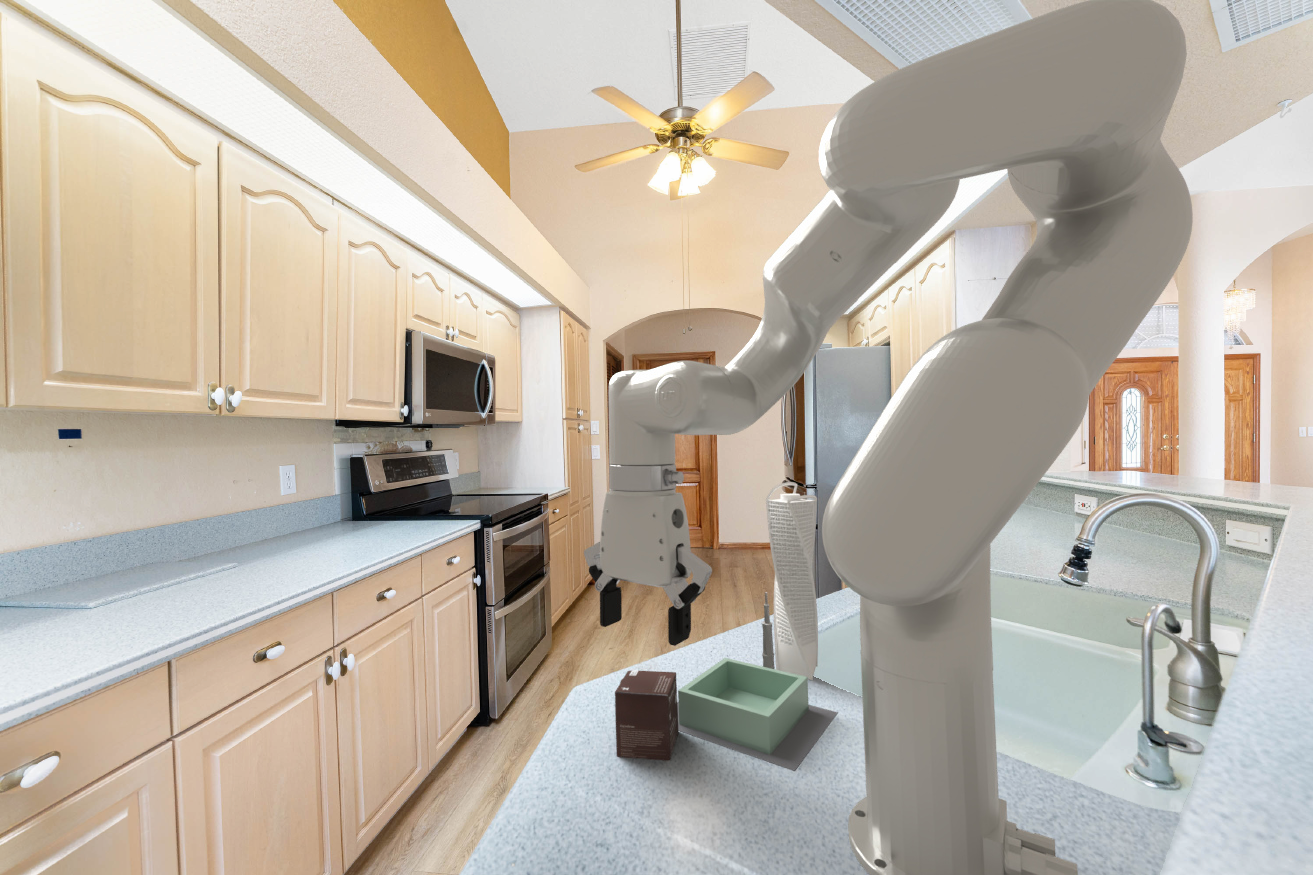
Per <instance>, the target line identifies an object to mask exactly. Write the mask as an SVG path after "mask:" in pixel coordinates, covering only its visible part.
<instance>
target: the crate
mask: <svg viewBox="0 0 1313 875" xmlns="http://www.w3.org/2000/svg"><path fill="white" fill-rule="evenodd" d="M808 680H809V679H808V678H807V677H805V676H801V675H797V674H792V673H788V672H784V671H780V670H776V668H775V669H771V668H767V667H763V665H757V664H753V663H751V662H750V663H748V662H745V661H740V660H736V659H731V658H727V657H724V658H722V659H721V660H720V661H719V662H717V663H715V664H714V665H712V666H711V667H710V668H708V669H707V670H706V671H703V672H702V673H701V674H699V675H698V676H697V677H695V678H694V679H692V680H691V681H690V682H688V683H686V684H685V685H684V686H682V687H681V688H679V689H677V702H678V703H679V724H680V725H683V726H686V727H689V728H692V729H695V730H698V731H701V732H704V733H707V734H710V735H712V736H715V737H718V738H721V739H724V740H727V741H730V742H733V743H736V744H739V745H742V746H745V747H748V748H751V749H754V750H757V751H760V752H763V753H766V754H769V755H770V754H771V753H772V752H773V751H774V750H775V748H776V747H777V746H778V745H779V744H780V743H781V741H782V740H783V739H784V738H785V737H786V736H787V734H788V733H789V732H790V731H791V730H792V729H793V727H794V726H795V725H796V724H797V723H798V722H799V720H800V719H801V718H802V717H803V716H804V714H805V713H806V712H807V711H808V710H809V705H810V704H809V682H808Z"/></svg>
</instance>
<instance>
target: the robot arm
mask: <svg viewBox="0 0 1313 875" xmlns="http://www.w3.org/2000/svg"><path fill="white" fill-rule="evenodd" d="M1187 55H1188V53H1187V40H1186V34H1185V32H1184V30H1183V27H1182V25H1181V22H1180V20H1179V19H1178V18H1177V17H1176V16H1175V15H1174V14H1173V13H1172V12H1171V11H1170V10H1169V9H1168V8H1167V7H1166V6H1164V5H1163V4H1161V3H1158V2H1156V1H1154V0H1086V1H1085V0H1084V1H1081V2H1077V3H1074V4H1071V5H1068V6H1066V7H1065V6H1064V7H1062V8H1059V9H1056V10H1052V11H1049V12H1047V13H1044V14H1041V15H1038V16H1037V17H1033V18H1031V19H1028V20H1025V21H1022V22H1019V23H1017V24H1014V25H1011V26H1008V27H1007V28H1003V29H1001V30H998V31H995V32H993V33H990V34H988V35H984V36H982V37H979V38H976V39H973V40H970V41H968V42H965V43H963V44H960V45H958V46H953V47H952V48H949V49H946V50H944V51H941V52H939V53H936V54H934V55H931V56H929V57H926V58H923V59H920V60H919V61H915V62H914V63H911V64H909V65H906V66H904V67H902V68H900V69H897V70H894V71H893V72H891V73H889V74H886V75H885V76H883V77H881V78H879V79H877V80H875V81H874V82H872V83H869V85H867V86H865V87H863V89H861V90H859V91H858V92H856V93H855V94H854V95H852V96H851V97H850V98H849V99H848V100H847V101H846V102H845V103H844V104H842V106H841V107H840V108H839V109H838V110H837V111H836V112H835V113H834V115H833V116H832V118H831V120H829V122H828V124H827V125H826V127H825V129H824V131H823V134H822V136H821V139H820V143H819V148H818V167H819V171H820V175H821V177H822V179H823V181H824V183H825V185H826V186H827V187H828V189H829V190H828V191H827V193H825V194H824V195H823V197H822V198H821V199H820V201H819V202H818V203H817V204H816V205H815V206H814V207H813V208H812V209H811V211H810V212H809V213H808V214H807V215H806V216H805V217H804V219H803V220H802V221H801V222H800V223H799V224H798V226H796V228H795V229H794V230H793V231H792V232H791V233H790V234H789V236H788V237H786V239H785V240H784V241H783V242H782V244H781V245H780V246H779V247H778V248H777V249H776V250H775V251H774V252H773V253H772V254H771V255H770V257H769V258H768V259H767V261H766V262H765V264H764V266H763V271H762V284H763V296H764V308H763V314H762V316H761V320H760V323H759V325H758V327H757V329H756V331H755V332H754V334H753V336H752V337H751V338H750V340H749V341H748V342H747V343H746V344H745V346H744V347H743V348H741V350H740V351H739V352H738V353H737V354H736V355H735V356H734V357H733V359H732V360H730V362H728V364H727V365H725V366H720V365H715V364H709V363H704V362H699V361H694V360H678V361H673V362H670V363H666V364H664V365H663V364H662V365H660V366H657V367H655V368H651V369H631V370H629V369H628V370H621V371H619V372H616V373H614V375H612V377H610V380H609V383H608V463H609V465H608V480H609V481H608V484H609V485H608V486H609V487H608V490H609V491H607V492H606V493H605V498H604V502H603V509H602V517H601V526H600V527H601V528H600V540H599V541H598V542H597V543H595V544H593V545H591V546H590V547H588V548H586V549H584V551H583V556H584V559H585V561H586V564H587V566H588V574H589V575H590V577H591V578H592V579H593V581H594V582H595V583H594V588H595V590H596V591H597V592H598V593H599V626H600V627H602V628H607V627H609V626H611V625H614V624H616V623H619V622H620V621H621V620H622V619H623V618H622V613H623V612H622V611H623V610H622V608H623V606H622V605H623V604H622V601H623V600H622V598H623V596H622V594H623V593H622V587H621V586H618V584H619V583H620V581H624V582H629V583H634V584H639V585H645V586H651V587H656V588H662V589H663V591H664V592H665V594H666V595H667V597H668V599H669V601H670V602H671V604H672V606H670V607H668V609H667V610H668V612H667V613H668V614H667V621H668V623H667V628H668V630H667V631H668V634H667V638H668V640H667V641H668V644H669V645H670V646H674V647H676V646H678V645H679V644H681V643H683V642H684V641H686V640H688V639H689V638H690V635H691V631H692V603H694V602H695V601H696V599H697V598H698V597H699V596H700V595H701V594H702V593H704V591H705V590H706V585H707V584H708V581H709V579H710V577H711V575H712V573H713V569H712V567H711V566H710V565H709V564H708V563H707V562H705V561H704V560H702V558H700V557H698V556H697V555H696V554H694V553H693V552H692V551H691V550H692V549H691V538H690V529H689V528H690V526H689V521H688V514H687V510H686V509H687V508H686V505H685V500H684V496H683V493H682V492H676V490H677V484H678V485H680V484H683V482H684V478H685V475H684V473H683V472H682V471H677V465H676V435H681V436H683V435H685V436H707V435H708V436H710V435H712V436H717V435H718V436H729V435H735V434H739V433H740V432H742V431H744V430H746V429H747V428H749V427H751V426H752V425H754V424H755V423H756V422H757V421H758V420H760V419H761V418H762V417H763V416H764V415H766V413H767V412H769V410H770V409H771V408H773V407H774V406H775V405H776V404H777V403H778V402H779V401H780V400H781V399H782V398H783V397H784V396H785V395H786V394H787V393H788V392H789V391H790V390H791V389H792V388H793V387H794V386H795V385H796V383H798V381H799V380H800V378H802V376H803V374H804V373H805V372H806V370H807V368H808V367H809V365H810V364H811V362H812V361H813V359H814V357H815V356H816V354H817V353H818V351H819V350H820V349H821V347H822V345H823V342H824V340H825V338H826V337H827V334H828V332H829V331H830V329H831V328H832V327H833V326H834V325H835V324H836V322H838V320H840V318H841V317H843V315H845V313H846V312H848V310H849V309H850V308H851V307H853V305H854V304H855V303H857V302H858V301H859V299H860V298H861V297H862V296H863V295H864V294H865V293H866V292H867V291H868V290H869V289H870V288H871V287H873V285H874V284H875V283H876V282H878V280H880V279H881V278H882V276H884V275H885V274H886V272H888V271H889V269H890V268H891V267H893V266H894V265H895V264H896V263H898V261H899V260H901V258H902V257H903V256H905V255H906V254H907V252H909V251H910V250H911V249H912V247H914V245H916V244H917V243H918V242H919V241H920V239H922V238H923V237H924V236H925V235H926V234H927V233H928V232H929V231H930V230H931V229H932V228H933V227H934V226H935V225H936V224H937V223H938V222H939V220H941V219H942V217H943V216H944V215H945V214H946V213H947V211H948V210H949V208H950V207H951V205H952V203H953V201H954V199H955V198H956V195H957V192H958V189H959V185H960V180H962V179H966V178H967V179H968V178H972V177H976V176H981V175H986V174H991V173H994V172H999V171H1004V170H1007V176H1008V180H1009V183H1010V186H1011V188H1012V190H1013V192H1014V193H1015V195H1016V196H1017V198H1018V199H1019V200H1020V201H1021V202H1022V204H1023V205H1024V206H1025V207H1026V209H1027V210H1028V211H1029V213H1030V214H1031V215H1032V216H1033V218H1034V219H1035V224H1036V234H1035V235H1036V236H1035V238H1034V239H1035V240H1034V241H1033V243H1032V245H1031V246H1030V248H1029V249H1028V250H1027V252H1026V253H1025V254H1024V256H1023V257H1022V258H1021V259H1020V261H1019V262H1018V263H1017V265H1016V266H1015V268H1014V269H1013V270H1012V272H1011V273H1010V275H1009V276H1008V278H1007V279H1006V281H1005V283H1004V284H1003V286H1002V288H1001V290H1000V291H999V294H998V295H997V297H996V298H995V300H994V301H993V302H992V304H991V306H990V307H989V309H988V310H987V311H986V312H985V314H984V316H983V317H982V319H981V320H978V321H977V320H976V321H973V322H971V323H968V324H967V323H966V324H965V325H963V326H960V327H957V328H955V329H953V330H952V331H950V332H948V333H947V334H945V335H943V336H942V337H941V338H939V339H938V340H936V341H935V342H934V343H933V344H931V346H929V347H928V348H927V349H926V350H925V352H924V353H922V355H920V356H919V358H918V359H917V360H916V361H915V363H914V364H913V366H911V367H910V369H909V371H908V372H907V373H906V374H905V376H904V378H903V379H902V380H901V382H900V384H899V385H898V387H897V388H896V390H894V393H893V395H892V396H891V398H890V399H889V401H888V402H887V404H886V406H885V407H884V408H883V411H882V412H881V414H879V416H878V418H877V420H876V421H875V423H874V425H873V427H872V428H870V431H869V433H868V434H867V436H866V437H865V439H864V441H863V442H862V444H861V445H860V447H859V449H857V451H856V453H855V455H854V456H853V458H852V460H850V462H849V464H848V466H847V467H846V469H845V471H844V473H843V474H842V475H841V477H840V478H839V480H838V482H837V484H836V485H835V487H834V488H833V491H832V493H831V495H830V497H829V499H828V501H827V503H826V506H825V509H824V513H823V516H822V523H821V524H822V525H821V537H822V543H823V548H824V552H825V555H826V557H827V560H828V562H829V564H830V567H831V568H832V569H833V571H834V572H835V574H836V575H837V577H838V578H839V579H840V580H841V582H843V583H844V585H845V586H847V587H848V588H849V589H850V590H852V591H853V592H854V593H856V594H857V595H859V596H860V600H859V602H860V603H859V633H860V634H859V636H860V638H859V639H860V671H861V673H860V674H861V694H862V696H861V697H862V698H861V699H862V700H861V701H862V718H863V720H862V722H863V740H864V741H863V742H864V768H865V769H864V770H865V771H864V772H865V774H864V775H865V792H866V795H865V797H864V798H862V799H861V800H859V801H858V802H857V803H856V804H855V805H854V806H853V807H852V809H851V811H850V813H849V816H848V823H847V832H848V842H849V844H850V848H851V851H852V853H853V855H854V856H855V858H856V860H857V861H858V863H859V864H860V866H861V867H862V869H863V870H864V871H866V873H867V874H868V875H1079V873H1078V871H1079V870H1078V863H1076V862H1073V861H1070V860H1067V859H1064V858H1061V857H1058V856H1056V853H1057V852H1056V839H1055V838H1051V837H1048V836H1045V835H1043V834H1040V833H1036V832H1034V833H1033V832H1030V831H1026V830H1023V829H1021V828H1019V827H1018V825H1017V823H1015V822H1013V821H1009V820H1008V806H1007V803H1008V802H1007V801H1006V800H1005V799H1003V798H1000V796H999V777H998V775H999V774H998V755H997V754H998V753H997V736H996V735H997V733H996V714H995V713H996V712H995V711H996V710H995V693H994V691H995V690H994V672H993V671H994V656H993V655H994V654H993V653H994V652H993V635H992V634H993V632H992V603H991V601H992V599H991V598H992V596H991V595H992V594H991V591H992V590H991V544H992V543H993V542H994V540H995V539H996V538H997V536H998V535H999V534H1000V533H1001V531H1002V530H1003V529H1004V528H1005V526H1006V524H1008V522H1009V521H1010V520H1011V518H1012V517H1013V515H1014V514H1015V513H1016V512H1017V510H1018V509H1019V508H1020V507H1021V505H1022V504H1023V503H1024V502H1025V500H1026V499H1027V498H1028V496H1029V495H1030V494H1031V492H1032V491H1033V490H1034V488H1035V487H1036V486H1037V485H1038V484H1039V482H1040V481H1041V480H1042V479H1043V477H1044V476H1045V475H1046V473H1047V472H1048V471H1049V469H1050V468H1051V467H1052V466H1053V464H1054V463H1055V462H1056V460H1057V459H1058V458H1059V456H1060V455H1061V454H1062V452H1063V451H1064V450H1065V448H1066V447H1067V446H1068V444H1069V443H1070V441H1071V440H1072V438H1073V437H1074V436H1075V434H1076V432H1077V431H1078V429H1079V428H1080V426H1081V424H1082V423H1083V420H1084V417H1085V416H1086V412H1087V408H1088V404H1089V400H1090V399H1089V397H1090V395H1091V393H1092V392H1093V390H1094V389H1095V387H1096V386H1097V385H1098V383H1099V382H1100V381H1101V379H1102V378H1103V376H1104V375H1105V373H1106V372H1107V371H1108V370H1109V369H1110V367H1111V366H1112V364H1113V363H1114V362H1115V360H1116V359H1117V358H1118V356H1119V355H1120V354H1121V352H1122V351H1123V350H1124V348H1125V347H1126V346H1127V345H1128V342H1130V340H1131V338H1132V337H1133V335H1134V334H1135V333H1136V330H1137V329H1138V328H1139V326H1140V325H1141V324H1142V322H1143V320H1145V318H1146V317H1147V315H1148V314H1149V312H1150V311H1151V310H1152V309H1153V307H1154V305H1155V304H1156V302H1157V301H1158V300H1159V298H1160V297H1161V295H1162V294H1163V292H1164V291H1165V290H1166V288H1167V287H1168V285H1169V283H1170V282H1171V279H1172V278H1173V276H1174V275H1175V273H1176V271H1177V270H1178V268H1179V265H1180V264H1181V262H1182V261H1183V258H1184V256H1185V253H1186V252H1187V249H1188V246H1189V243H1190V239H1191V236H1192V231H1193V222H1194V220H1193V205H1192V200H1191V199H1192V198H1191V194H1190V191H1189V190H1190V189H1189V187H1188V185H1187V182H1186V180H1185V178H1184V176H1183V174H1182V172H1181V171H1180V169H1179V167H1178V165H1177V164H1176V163H1175V161H1174V160H1173V159H1172V157H1171V156H1170V154H1169V153H1168V151H1167V150H1166V148H1165V146H1164V145H1163V143H1162V141H1161V140H1162V139H1161V137H1162V135H1163V132H1164V128H1165V126H1166V122H1167V120H1168V117H1169V115H1170V112H1171V110H1172V109H1173V108H1172V107H1173V105H1174V102H1175V101H1176V97H1177V95H1178V93H1179V89H1180V87H1181V85H1182V84H1181V83H1182V81H1183V78H1184V77H1183V76H1184V72H1185V67H1186V62H1187ZM691 574H692V579H691V581H690V584H689V583H688V581H687V579H688V578H690V577H691Z"/></svg>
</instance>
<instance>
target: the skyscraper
mask: <svg viewBox="0 0 1313 875" xmlns="http://www.w3.org/2000/svg"><path fill="white" fill-rule="evenodd" d="M787 486H794V487H793V492H792V493H780V494H779V495H780V498H777V499H776V498H775V499H770V498H771V496H772V494H773V493H774V492H775V491H777V490H778V489H779V488H782V487H787ZM797 490H798V483H796V482H793V481H788V482H786V481H785V482H782V483H779V484H777V485H775V486H774V487H772V489H770V491H769V493H768V495H767V496H766V499H765V504H766V517H767V518H766V520H767V528H768V538H769V539H768V540H769V547H770V553H771V560H772V564H773V565H772V566H773V570H774V583H773V584H774V585H773V586H774V587H773V589H774V590H773V622H771V618H770V617H771V616H770V615H771V614H770V604H769V603H768V600H769V599H768V591H767V592H764V600H765V602H764V604H763V609H764V611H763V613H764V614H763V618H764V621H762V623H761V625H762V654H761V655H762V667H767V668H771V669H775V670H780V671H784V672H788V673H792V674H797V675H801V676H805V677H807V678H808V680H810V681H814V679H813V678H814V676H815V671H816V669H817V668H816V667H818V660H819V659H818V658H819V623H818V618H819V616H818V605H817V604H818V603H817V595H816V594H817V593H816V588H815V581H814V575H813V571H812V564H813V563H812V562H813V558H814V557H813V556H814V550H815V538H816V527H817V510H818V508H817V507H818V497H817V496H816V495H813V494H805V495H804V494H803V495H801V494H800V493H797ZM773 631H774V632H773ZM773 633H774V634H773ZM773 635H774V636H773ZM773 637H774V638H773ZM773 639H774V641H773Z"/></svg>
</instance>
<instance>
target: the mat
mask: <svg viewBox="0 0 1313 875" xmlns="http://www.w3.org/2000/svg"><path fill="white" fill-rule="evenodd" d="M677 706H678V732H681V733H683V734H687V735H689V736H693V737H694V738H695V737H696V738H699V739H701V740H704V741H706V742H708V743H709V742H710V743H712V744H715V745H718V746H721V747H724V748H726V749H730V750H732V751H735V752H738V753H741V754H743V755H746V756H747V755H748V756H750V757H753V758H755V759H759V760H762V761H764V762H768V763H770V764H773V765H776V766H779V767H780V768H784V769H787V770H791V771H793V772H795V771H796V770H797V769H798V767H800V764H801V763H802V762H803V760H804V759H805V758H806V757H807V756H808V754H809V753H810V751H811V750H812V748H813V747H814V746H815V744H816V743H817V742H818V740H819V739H820V738H821V737H822V735H823V733H824V732H825V731H826V730H827V728H828V726H829V725H830V724H831V723H832V721H833V720H834V719H835V717H836V716H837V715H838V713H839V712H837V711H834V710H830V709H826V708H823V707H818V706H815V705H811V704H809V710H808V711H807V712H806V713H805V714H804V716H803V717H802V718H801V719H800V720H799V722H798V723H797V724H796V725H795V726H794V727H793V729H792V730H791V731H790V732H789V733H788V734H787V736H786V737H785V738H784V739H783V740H782V741H781V743H780V744H779V745H778V746H777V747H776V748H775V750H774V751H773V752H772V753H771V754H770V755H769V754H766V753H763V752H760V751H757V750H754V749H751V748H748V747H745V746H742V745H739V744H736V743H733V742H730V741H727V740H724V739H721V738H718V737H715V736H712V735H710V734H707V733H704V732H701V731H698V730H695V729H692V728H689V727H686V726H683V725H680V724H679V703H678V701H677Z"/></svg>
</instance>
